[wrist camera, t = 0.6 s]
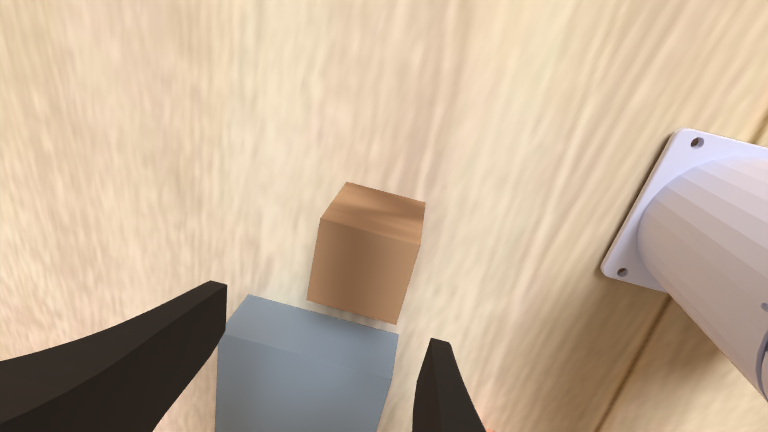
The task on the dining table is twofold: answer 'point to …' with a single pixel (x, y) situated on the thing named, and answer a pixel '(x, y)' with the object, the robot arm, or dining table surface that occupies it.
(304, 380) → the base block
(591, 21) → the dining table surface
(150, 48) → the dining table surface
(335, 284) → the walnut block
